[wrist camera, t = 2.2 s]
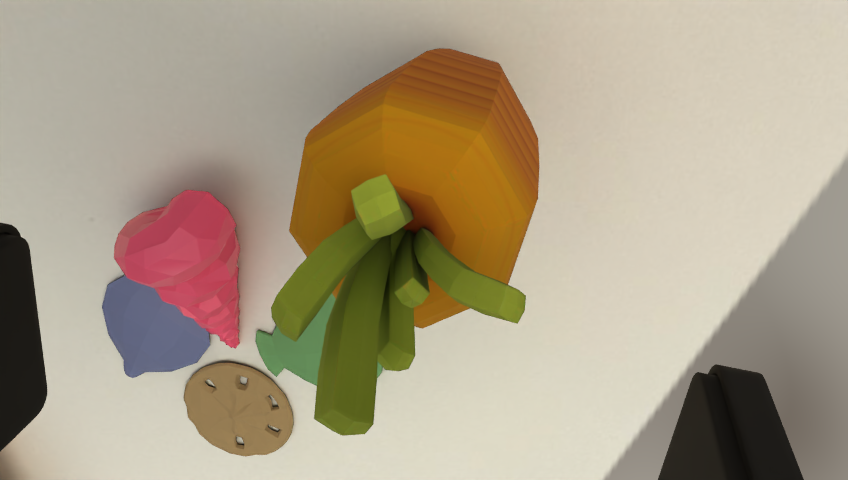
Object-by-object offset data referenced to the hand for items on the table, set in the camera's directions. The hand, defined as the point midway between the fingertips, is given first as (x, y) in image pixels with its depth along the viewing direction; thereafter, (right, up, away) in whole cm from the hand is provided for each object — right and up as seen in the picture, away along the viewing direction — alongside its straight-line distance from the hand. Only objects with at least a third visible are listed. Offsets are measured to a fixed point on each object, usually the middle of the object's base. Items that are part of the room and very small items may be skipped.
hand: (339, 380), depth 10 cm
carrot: (+3, +7, +13) cm, 15 cm away
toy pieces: (-6, -1, +19) cm, 20 cm away
